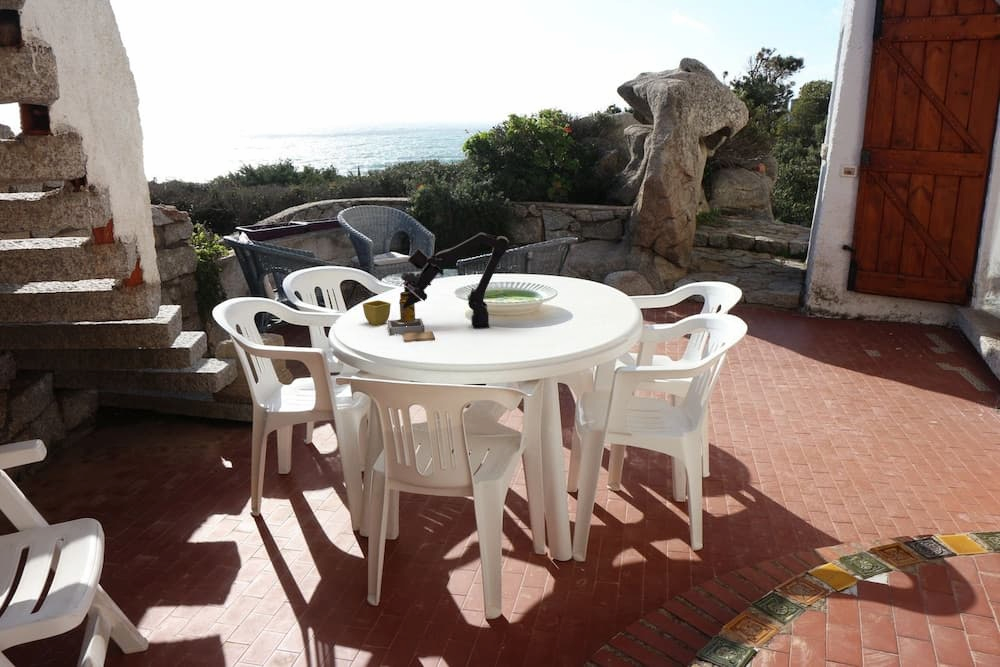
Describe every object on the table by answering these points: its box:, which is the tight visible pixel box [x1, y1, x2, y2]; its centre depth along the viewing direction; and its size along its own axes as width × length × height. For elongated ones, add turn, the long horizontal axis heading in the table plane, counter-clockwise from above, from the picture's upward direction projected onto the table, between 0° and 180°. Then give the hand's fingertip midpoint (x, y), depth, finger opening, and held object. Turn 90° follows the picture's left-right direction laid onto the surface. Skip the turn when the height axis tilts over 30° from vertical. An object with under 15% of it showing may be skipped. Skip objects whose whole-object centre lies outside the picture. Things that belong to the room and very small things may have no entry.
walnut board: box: [402, 330, 436, 343], centre depth 291 cm, size 12×10×1 cm
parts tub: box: [387, 317, 426, 336], centre depth 302 cm, size 14×13×3 cm
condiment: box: [392, 291, 418, 324], centre depth 300 cm, size 7×8×12 cm
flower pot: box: [362, 299, 392, 326], centre depth 313 cm, size 9×9×9 cm
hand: (401, 305), depth 299 cm, fingers closed on condiment, 6 cm apart
